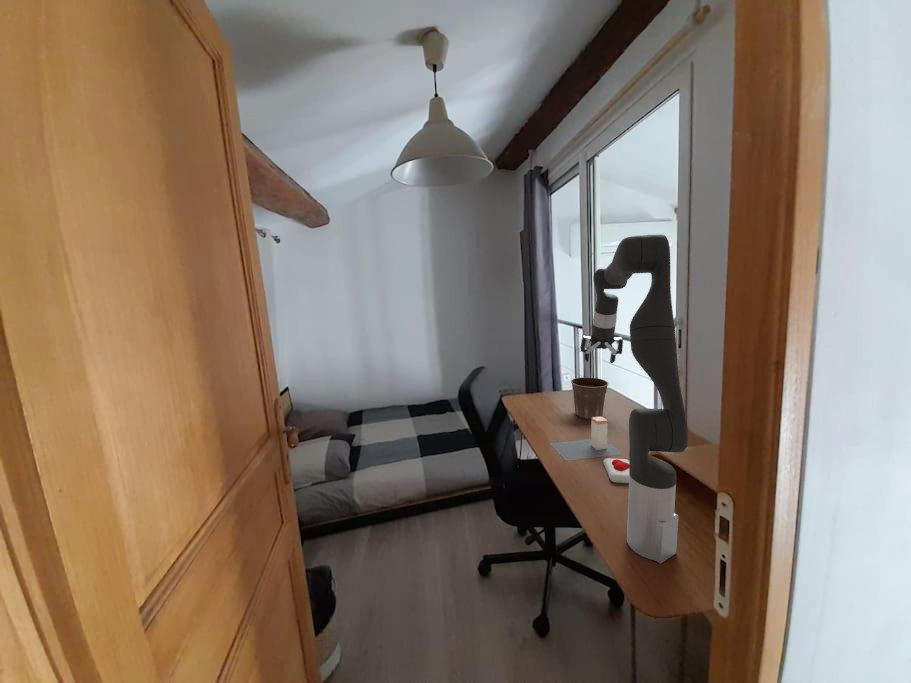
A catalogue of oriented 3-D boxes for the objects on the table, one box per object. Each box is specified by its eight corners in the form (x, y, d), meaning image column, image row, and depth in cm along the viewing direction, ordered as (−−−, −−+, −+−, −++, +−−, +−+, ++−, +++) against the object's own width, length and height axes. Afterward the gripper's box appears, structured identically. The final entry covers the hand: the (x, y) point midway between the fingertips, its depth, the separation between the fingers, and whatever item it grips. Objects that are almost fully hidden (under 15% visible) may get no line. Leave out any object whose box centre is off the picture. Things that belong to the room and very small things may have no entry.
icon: (646, 473, 104) (611, 471, 106) (646, 486, 105) (610, 484, 107) (634, 454, 116) (602, 452, 118) (633, 466, 117) (602, 464, 119)
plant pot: (609, 423, 152) (610, 387, 150) (570, 420, 157) (570, 385, 155) (606, 410, 167) (606, 378, 165) (570, 407, 173) (571, 376, 170)
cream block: (600, 443, 132) (601, 416, 130) (606, 448, 128) (607, 420, 126) (591, 445, 131) (591, 417, 129) (596, 449, 127) (597, 421, 125)
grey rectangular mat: (601, 438, 137) (601, 437, 137) (624, 455, 123) (624, 453, 123) (549, 445, 134) (549, 443, 134) (566, 462, 120) (566, 460, 120)
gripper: (583, 326, 123) (579, 365, 130) (627, 328, 119) (621, 368, 126) (582, 317, 129) (578, 355, 137) (624, 319, 125) (618, 357, 133)
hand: (599, 361), depth 131 cm, fingers open, 8 cm apart
